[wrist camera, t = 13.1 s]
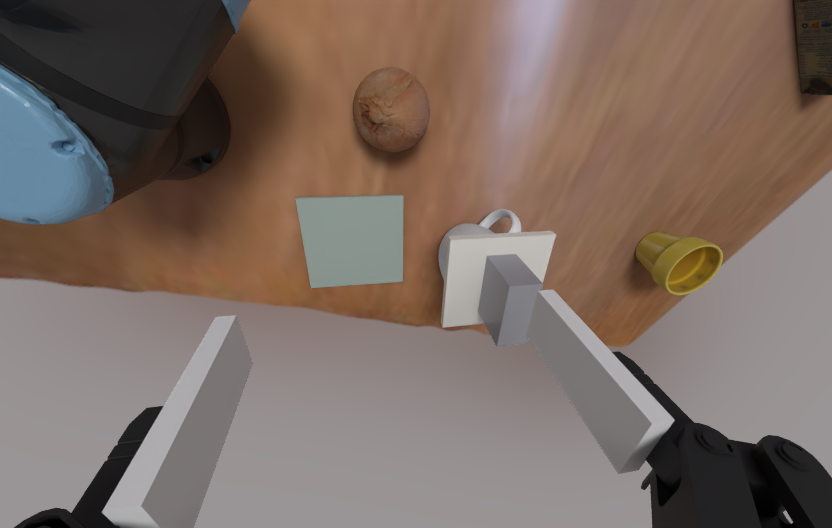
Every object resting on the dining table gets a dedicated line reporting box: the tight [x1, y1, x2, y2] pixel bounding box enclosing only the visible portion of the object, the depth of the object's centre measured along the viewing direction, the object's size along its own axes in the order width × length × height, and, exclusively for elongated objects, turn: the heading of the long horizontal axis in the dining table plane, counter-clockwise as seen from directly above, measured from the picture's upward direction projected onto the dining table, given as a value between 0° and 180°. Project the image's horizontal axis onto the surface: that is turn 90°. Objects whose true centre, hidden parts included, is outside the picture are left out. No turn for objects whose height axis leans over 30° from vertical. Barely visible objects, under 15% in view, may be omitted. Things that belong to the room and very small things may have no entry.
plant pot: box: [635, 232, 723, 295], centre depth 59 cm, size 10×10×10 cm
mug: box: [438, 209, 521, 280], centre depth 49 cm, size 15×11×13 cm
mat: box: [296, 195, 403, 288], centre depth 52 cm, size 16×16×1 cm
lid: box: [441, 231, 556, 346], centre depth 40 cm, size 14×14×8 cm
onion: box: [353, 68, 430, 152], centre depth 39 cm, size 10×9×10 cm
